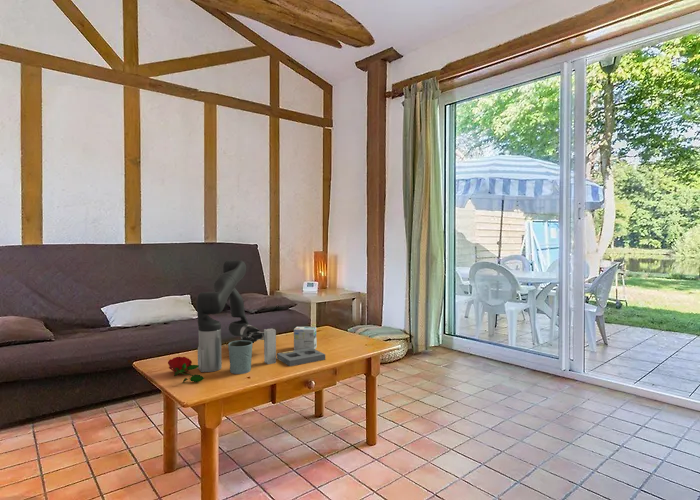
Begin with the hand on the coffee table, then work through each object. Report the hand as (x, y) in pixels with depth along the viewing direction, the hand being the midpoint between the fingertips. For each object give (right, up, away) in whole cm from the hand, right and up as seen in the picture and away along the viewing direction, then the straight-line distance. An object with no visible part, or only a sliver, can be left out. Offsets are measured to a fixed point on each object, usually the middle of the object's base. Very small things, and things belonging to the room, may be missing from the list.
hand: (262, 339), depth 200 cm
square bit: (+5, -9, -7) cm, 13 cm away
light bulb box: (+19, -8, +16) cm, 26 cm away
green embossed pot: (-5, -10, -19) cm, 22 cm away
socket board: (+18, -9, -2) cm, 20 cm away
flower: (-24, -10, -29) cm, 39 cm away
